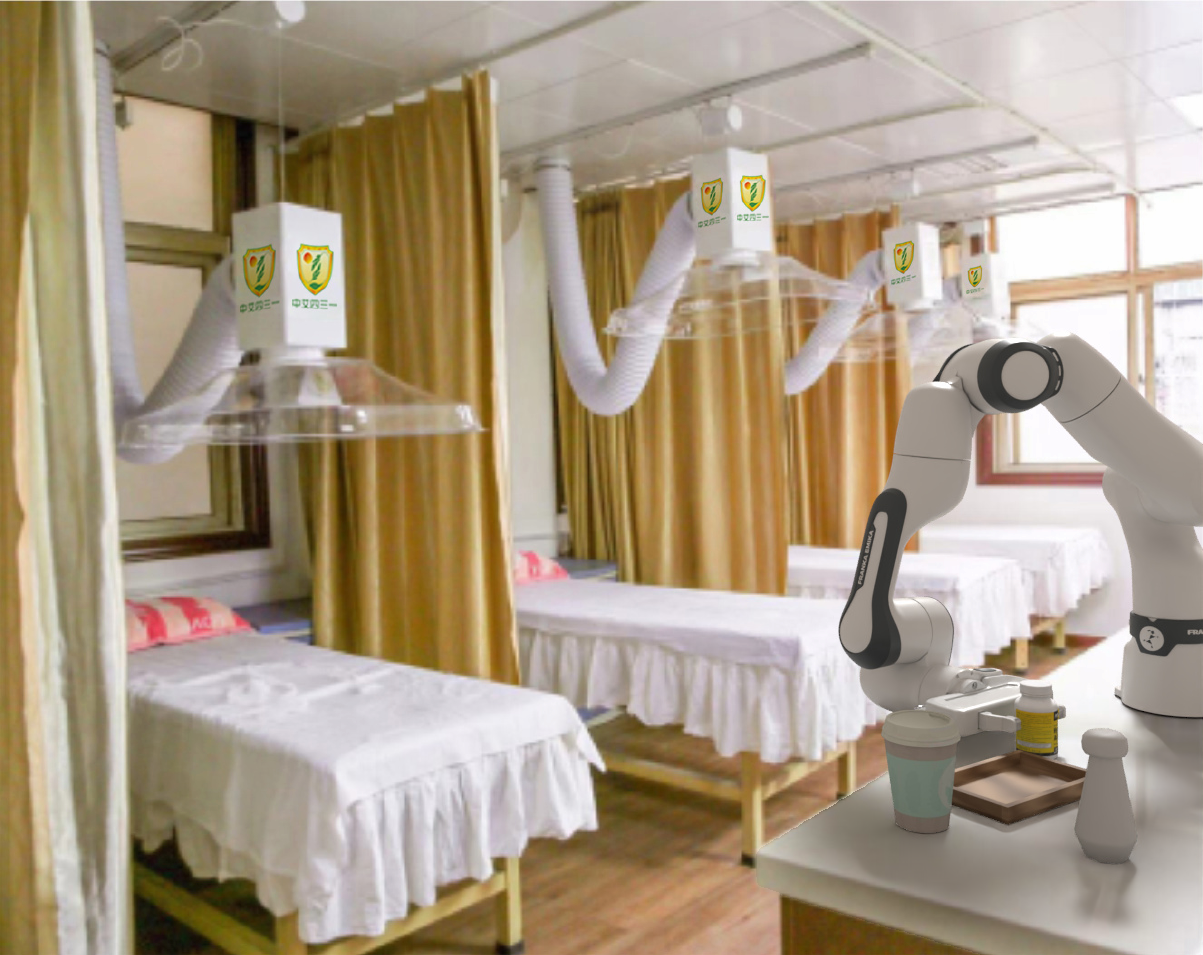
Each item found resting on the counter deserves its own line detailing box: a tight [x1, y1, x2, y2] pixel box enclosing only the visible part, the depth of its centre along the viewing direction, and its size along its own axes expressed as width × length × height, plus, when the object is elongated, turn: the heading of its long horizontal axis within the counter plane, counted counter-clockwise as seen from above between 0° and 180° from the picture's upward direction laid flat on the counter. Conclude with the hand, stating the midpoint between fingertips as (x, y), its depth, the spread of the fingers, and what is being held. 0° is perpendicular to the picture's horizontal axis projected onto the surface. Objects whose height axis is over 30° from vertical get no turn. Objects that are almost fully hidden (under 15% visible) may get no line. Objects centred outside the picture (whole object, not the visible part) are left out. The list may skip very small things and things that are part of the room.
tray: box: [951, 750, 1087, 826], centre depth 127 cm, size 18×12×2 cm, turn 122°
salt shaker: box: [1073, 727, 1138, 865], centre depth 108 cm, size 6×6×13 cm
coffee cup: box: [880, 710, 962, 834], centre depth 118 cm, size 8×8×12 cm
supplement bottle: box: [1013, 679, 1059, 760], centre depth 140 cm, size 5×5×10 cm
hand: (1040, 719), depth 139 cm, fingers open, 8 cm apart
